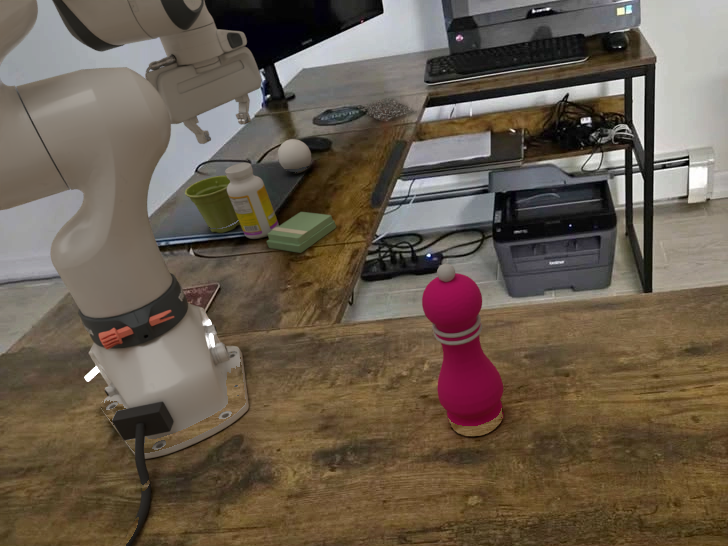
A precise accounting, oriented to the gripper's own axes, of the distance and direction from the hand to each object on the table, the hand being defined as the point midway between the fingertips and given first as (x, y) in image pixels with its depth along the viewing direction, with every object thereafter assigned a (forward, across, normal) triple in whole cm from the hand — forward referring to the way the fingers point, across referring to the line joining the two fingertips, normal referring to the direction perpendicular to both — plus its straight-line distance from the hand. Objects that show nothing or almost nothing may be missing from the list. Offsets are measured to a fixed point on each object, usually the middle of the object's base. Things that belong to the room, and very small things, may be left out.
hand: (225, 132), depth 117 cm
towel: (+19, 0, -10) cm, 22 cm away
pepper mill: (+20, -32, -65) cm, 75 cm away
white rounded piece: (+19, +27, +16) cm, 37 cm away
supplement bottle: (+19, 0, 0) cm, 19 cm away
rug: (+18, +67, +20) cm, 73 cm away
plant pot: (+19, 0, +11) cm, 22 cm away
